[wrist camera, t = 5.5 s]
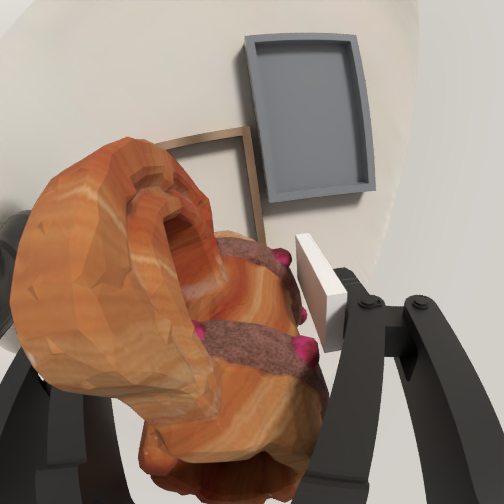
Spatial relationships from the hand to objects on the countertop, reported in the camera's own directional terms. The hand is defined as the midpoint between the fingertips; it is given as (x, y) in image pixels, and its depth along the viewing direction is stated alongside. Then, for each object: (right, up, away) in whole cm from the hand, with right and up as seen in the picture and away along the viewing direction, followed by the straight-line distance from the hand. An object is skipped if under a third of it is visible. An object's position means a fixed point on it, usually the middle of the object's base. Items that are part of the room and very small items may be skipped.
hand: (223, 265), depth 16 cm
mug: (0, +1, +3) cm, 3 cm away
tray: (+9, +18, +17) cm, 26 cm away
